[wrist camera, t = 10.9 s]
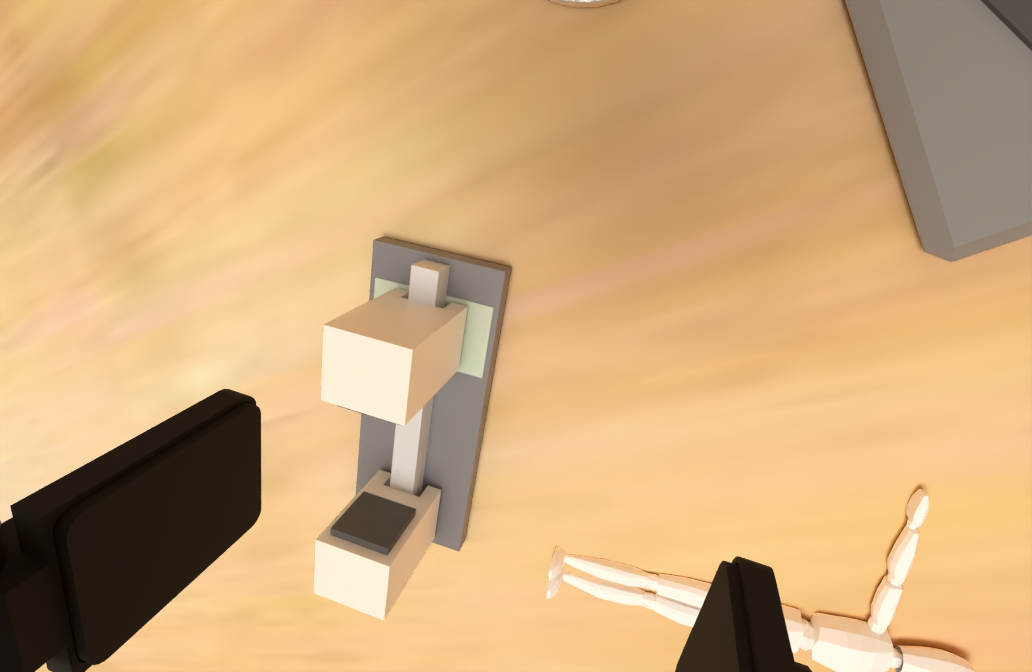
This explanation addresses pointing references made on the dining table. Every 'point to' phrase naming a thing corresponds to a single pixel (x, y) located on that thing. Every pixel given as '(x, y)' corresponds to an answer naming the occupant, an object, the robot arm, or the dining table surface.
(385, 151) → the dining table surface
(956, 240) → the grey tray
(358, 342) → the cream rectangular block
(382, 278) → the rail board
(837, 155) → the dining table surface
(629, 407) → the dining table surface
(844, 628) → the articulated figure
